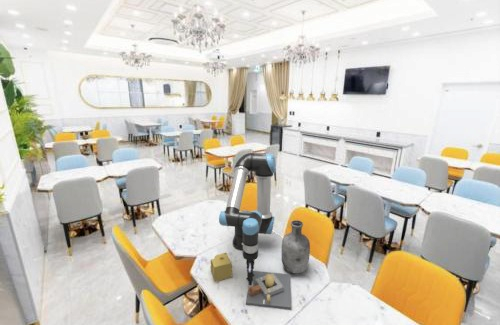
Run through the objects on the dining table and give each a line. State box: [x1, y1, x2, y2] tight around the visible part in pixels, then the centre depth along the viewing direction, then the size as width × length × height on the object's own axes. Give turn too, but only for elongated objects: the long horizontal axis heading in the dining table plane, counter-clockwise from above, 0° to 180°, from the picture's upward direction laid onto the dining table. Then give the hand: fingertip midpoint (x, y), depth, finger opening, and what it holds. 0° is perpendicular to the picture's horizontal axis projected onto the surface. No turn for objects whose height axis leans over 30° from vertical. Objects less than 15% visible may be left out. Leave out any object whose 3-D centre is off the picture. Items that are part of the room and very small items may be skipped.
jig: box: [245, 270, 292, 311], centre depth 122 cm, size 22×22×8 cm
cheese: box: [210, 252, 233, 282], centre depth 133 cm, size 10×11×10 cm
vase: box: [281, 219, 311, 274], centre depth 134 cm, size 16×16×30 cm
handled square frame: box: [247, 272, 284, 298], centre depth 121 cm, size 17×11×2 cm, turn 115°
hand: (250, 288), depth 121 cm, fingers closed
